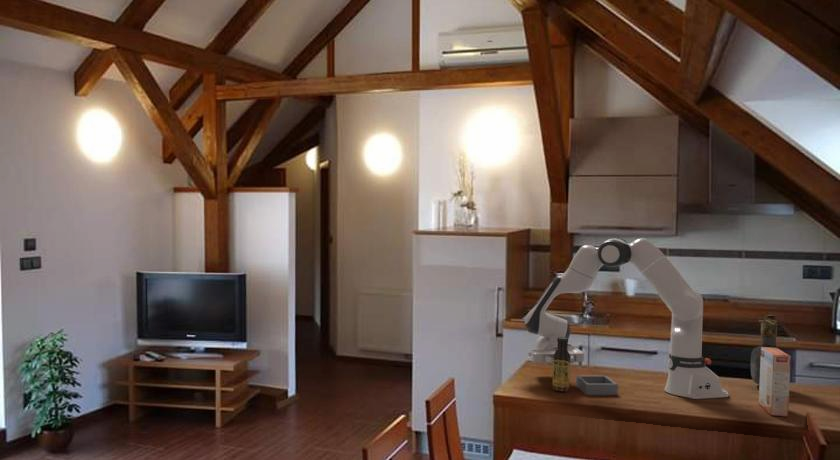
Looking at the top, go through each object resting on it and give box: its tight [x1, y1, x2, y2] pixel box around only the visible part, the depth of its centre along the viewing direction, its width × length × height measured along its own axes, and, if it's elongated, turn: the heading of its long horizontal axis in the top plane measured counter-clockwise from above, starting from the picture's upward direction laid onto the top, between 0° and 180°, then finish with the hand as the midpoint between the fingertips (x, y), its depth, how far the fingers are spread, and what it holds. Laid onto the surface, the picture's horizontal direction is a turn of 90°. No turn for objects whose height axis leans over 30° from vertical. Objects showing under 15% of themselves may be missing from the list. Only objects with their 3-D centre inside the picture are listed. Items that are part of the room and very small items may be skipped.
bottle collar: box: [575, 375, 619, 396], centre depth 257 cm, size 12×13×4 cm
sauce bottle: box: [552, 337, 571, 392], centre depth 255 cm, size 7×6×20 cm
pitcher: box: [750, 311, 783, 391], centre depth 263 cm, size 11×19×30 cm, turn 163°
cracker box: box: [758, 347, 792, 418], centre depth 234 cm, size 14×6×21 cm, turn 168°
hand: (562, 361), depth 255 cm, fingers closed on sauce bottle, 6 cm apart
